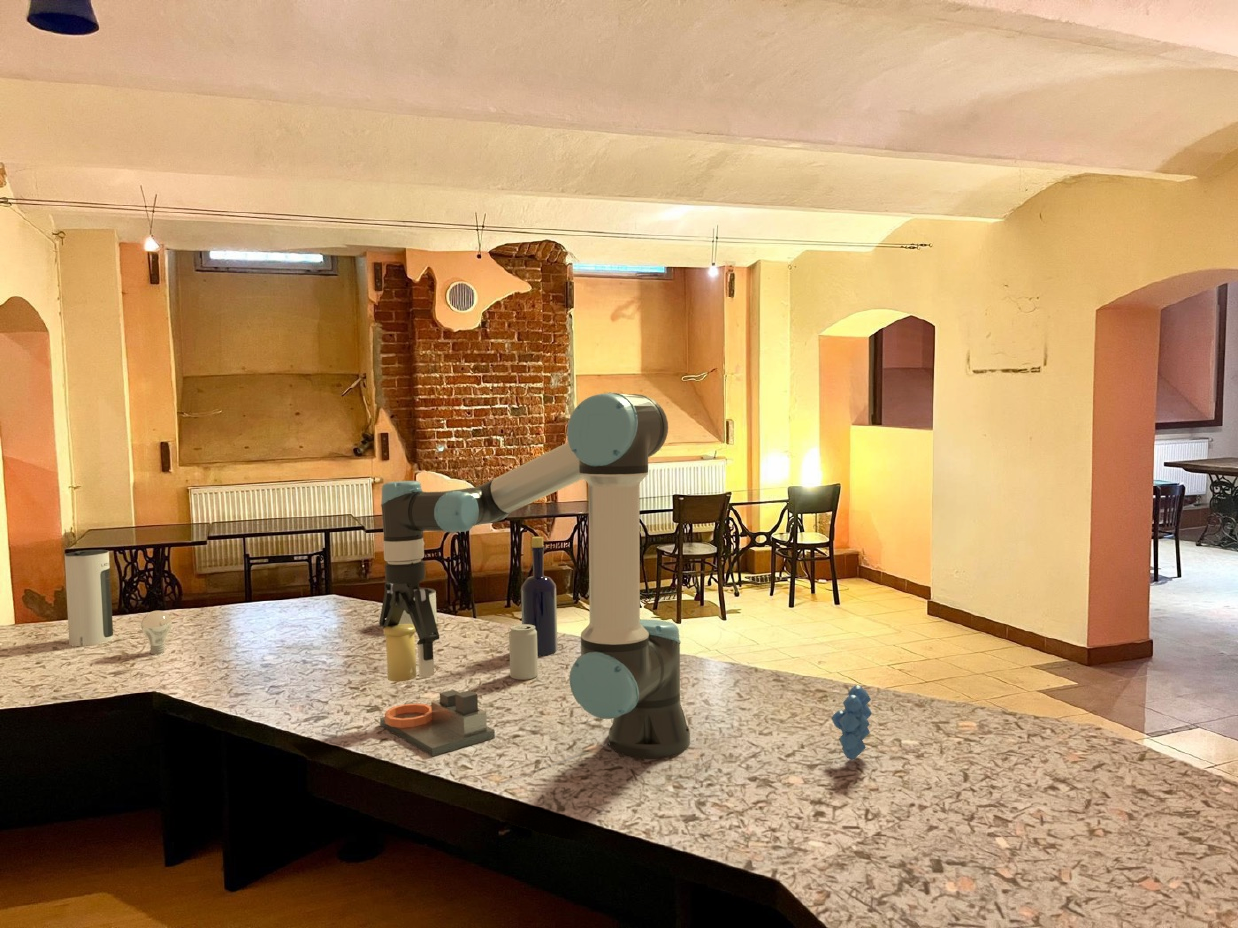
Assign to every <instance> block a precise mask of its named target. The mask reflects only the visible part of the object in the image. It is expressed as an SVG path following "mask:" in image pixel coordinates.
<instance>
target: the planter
mask: <svg viewBox="0 0 1238 928" xmlns="http://www.w3.org/2000/svg"><path fill="white" fill-rule="evenodd" d="M419 588H420V590H421V589H428V590H429V599H430V604H431V607H432V611H433V615H434V618H435V622H436V625H437V623H438V619H437V618H438V617H437V597H436V596H437V593H436V592H437V591H436V590H435V589H434V588H429V587H427V588H426V587H419ZM399 624H413V622H412V620H411V617H410V615H409V614H407V613H406V611H405V610H404V611H403V614H402V617H401V619H400V622H399Z"/></svg>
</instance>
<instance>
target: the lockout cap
mask: <svg viewBox="0 0 1238 928" xmlns="http://www.w3.org/2000/svg"><path fill="white" fill-rule="evenodd" d="M415 633H417V632H416V630H415V627H414V625H413V624H397V625H391V626H387V627H385V628H383V635H384V636H385V647H386V648H385V649H386V651H385V652H386V669H387V670H386V672H387V680H388V681H390V682H395V683H397V682H399V683H401V682H406V681H408V682H409V681H412V680H414V679H416V678H417V664H416V663H417V662H416V659H417V658H416V641H415V640H416V638H415V637H416V636H415Z"/></svg>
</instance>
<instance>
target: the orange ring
mask: <svg viewBox="0 0 1238 928" xmlns="http://www.w3.org/2000/svg"><path fill="white" fill-rule="evenodd" d="M412 712H418V713H425V714H424V715H422V716H418V717H414V718H394V716H396V715H399V714H403V713H412ZM384 717H385V723H386V724H387V725H389V726H391V727H399V728H405V727H416V726H419V725H423V724H426V723H428V722H430V721H431V720H432V710H431V706H429V704H424V703H406V704H405V703H404V704H401V705H397V706H393V707H391V708H389V709H387V710H385V713H384Z"/></svg>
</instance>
